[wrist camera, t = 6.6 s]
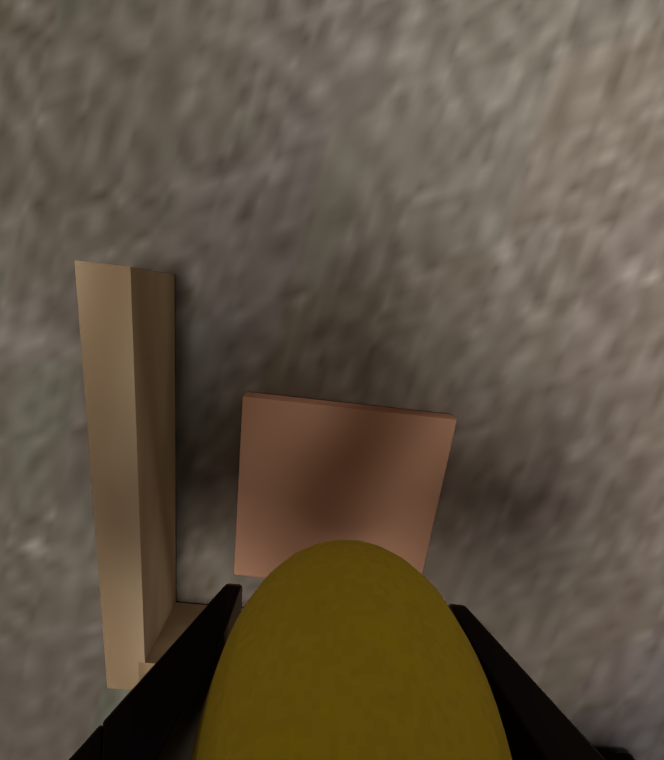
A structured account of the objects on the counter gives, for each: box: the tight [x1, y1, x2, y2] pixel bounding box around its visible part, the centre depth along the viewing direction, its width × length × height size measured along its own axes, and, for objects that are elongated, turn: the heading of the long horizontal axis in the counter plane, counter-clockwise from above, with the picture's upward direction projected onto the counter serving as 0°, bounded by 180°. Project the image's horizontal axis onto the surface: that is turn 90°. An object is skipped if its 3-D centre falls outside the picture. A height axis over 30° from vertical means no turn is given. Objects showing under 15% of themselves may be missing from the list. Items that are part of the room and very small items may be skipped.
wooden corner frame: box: [75, 260, 457, 690], centre depth 12 cm, size 16×16×2 cm
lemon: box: [191, 540, 512, 760], centre depth 6 cm, size 6×6×8 cm
